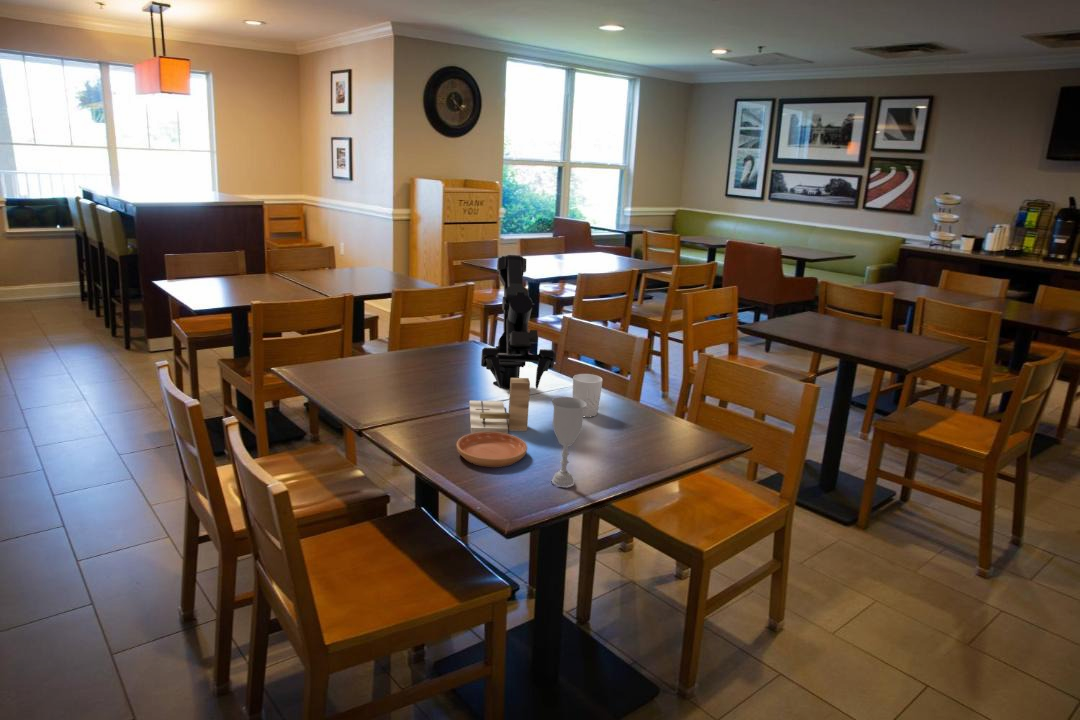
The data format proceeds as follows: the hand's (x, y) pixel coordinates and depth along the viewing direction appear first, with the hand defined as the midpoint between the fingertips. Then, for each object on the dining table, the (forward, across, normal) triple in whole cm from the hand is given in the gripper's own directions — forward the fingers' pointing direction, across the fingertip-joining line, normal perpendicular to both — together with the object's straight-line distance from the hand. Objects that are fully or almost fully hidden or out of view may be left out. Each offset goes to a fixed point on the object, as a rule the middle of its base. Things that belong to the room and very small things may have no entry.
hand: (518, 387), depth 180 cm
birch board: (+5, -7, +9) cm, 13 cm away
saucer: (+21, -7, -6) cm, 23 cm away
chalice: (+31, +7, -16) cm, 36 cm away
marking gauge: (+9, -4, +5) cm, 11 cm away
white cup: (0, +19, +14) cm, 24 cm away
